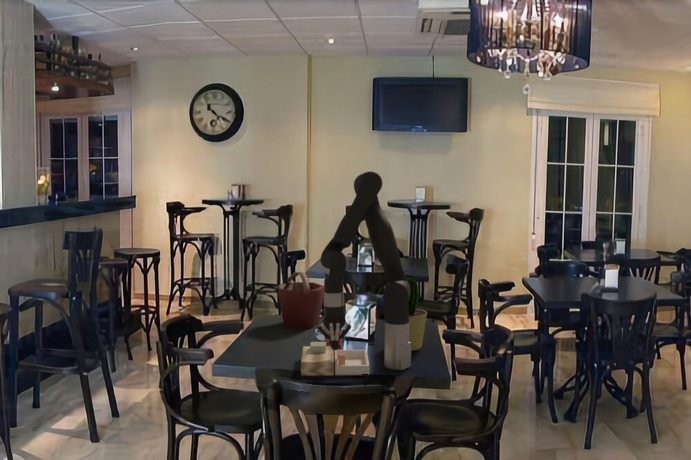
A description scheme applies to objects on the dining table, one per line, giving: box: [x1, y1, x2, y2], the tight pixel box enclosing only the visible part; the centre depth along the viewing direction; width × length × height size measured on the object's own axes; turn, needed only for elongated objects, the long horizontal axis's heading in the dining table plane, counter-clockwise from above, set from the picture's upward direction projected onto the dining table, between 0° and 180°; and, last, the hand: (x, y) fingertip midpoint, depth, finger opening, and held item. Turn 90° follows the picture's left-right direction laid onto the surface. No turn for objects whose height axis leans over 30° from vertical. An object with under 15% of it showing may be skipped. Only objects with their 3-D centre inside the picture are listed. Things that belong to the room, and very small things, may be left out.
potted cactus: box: [406, 277, 428, 351], centre depth 268 cm, size 15×15×30 cm
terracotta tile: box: [338, 351, 345, 365], centre depth 239 cm, size 6×6×2 cm
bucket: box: [277, 271, 324, 330], centre depth 305 cm, size 24×22×25 cm
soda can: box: [324, 326, 342, 352], centre depth 265 cm, size 7×7×12 cm
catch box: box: [334, 349, 370, 376], centre depth 243 cm, size 12×20×4 cm, turn 1°
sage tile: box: [309, 341, 326, 353], centre depth 247 cm, size 6×6×2 cm
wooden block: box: [300, 345, 335, 376], centre depth 243 cm, size 12×20×5 cm, turn 1°
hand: (334, 349), depth 237 cm, fingers closed
